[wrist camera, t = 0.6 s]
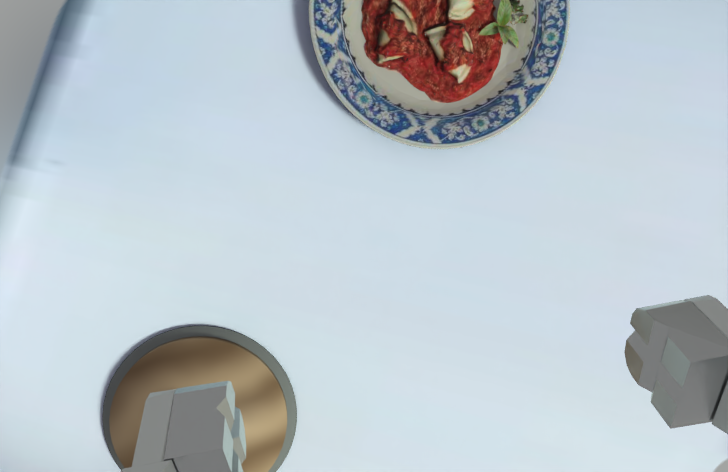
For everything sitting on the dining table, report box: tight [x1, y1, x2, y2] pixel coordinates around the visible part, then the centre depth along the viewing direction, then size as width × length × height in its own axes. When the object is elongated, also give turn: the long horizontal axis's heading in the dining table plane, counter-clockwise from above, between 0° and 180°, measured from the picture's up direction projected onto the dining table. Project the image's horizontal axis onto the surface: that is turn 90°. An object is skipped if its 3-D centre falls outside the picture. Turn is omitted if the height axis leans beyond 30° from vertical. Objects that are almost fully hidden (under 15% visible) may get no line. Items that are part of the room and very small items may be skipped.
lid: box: [109, 336, 287, 472], centre depth 59 cm, size 18×18×5 cm
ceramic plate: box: [309, 0, 570, 149], centre depth 57 cm, size 26×26×3 cm
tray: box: [103, 326, 297, 472], centre depth 62 cm, size 20×20×1 cm
